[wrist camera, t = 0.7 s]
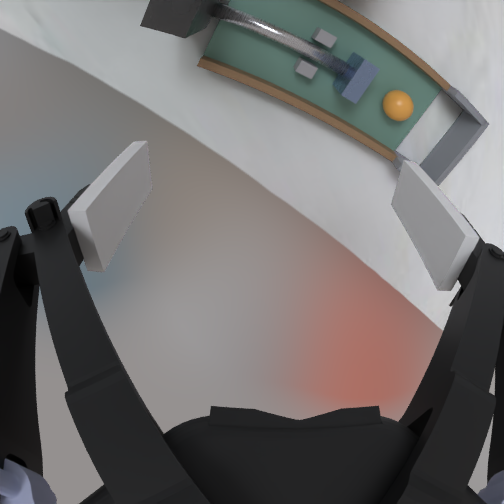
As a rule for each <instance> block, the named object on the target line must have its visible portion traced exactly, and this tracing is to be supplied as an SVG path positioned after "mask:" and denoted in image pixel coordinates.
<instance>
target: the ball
mask: <svg viewBox="0 0 504 504" xmlns="http://www.w3.org/2000/svg"><path fill="white" fill-rule="evenodd" d="M382 104H383V109H384V112H385V113H386V115H387V116H388V117H390V118H391V119H393V120H396V121H404V120H406V119H408V118H409V117H410V116H411V115H412V113H413V109H414V105H413V101H412V99H411V98H410V96H409V95H408V94H407V93H405V92H403V91H400V90H392V91H390V92H388V93H387V94H386V95H385V96H384V98H383V103H382Z"/></svg>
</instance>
